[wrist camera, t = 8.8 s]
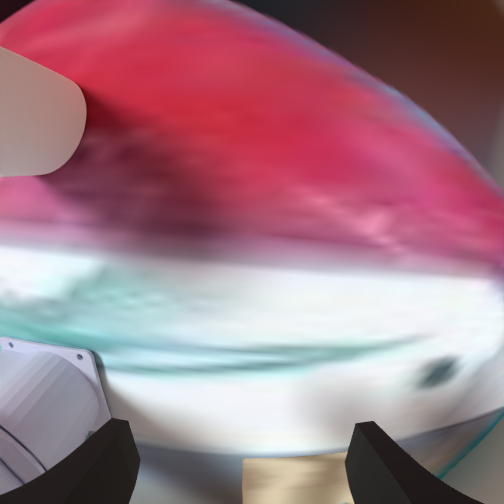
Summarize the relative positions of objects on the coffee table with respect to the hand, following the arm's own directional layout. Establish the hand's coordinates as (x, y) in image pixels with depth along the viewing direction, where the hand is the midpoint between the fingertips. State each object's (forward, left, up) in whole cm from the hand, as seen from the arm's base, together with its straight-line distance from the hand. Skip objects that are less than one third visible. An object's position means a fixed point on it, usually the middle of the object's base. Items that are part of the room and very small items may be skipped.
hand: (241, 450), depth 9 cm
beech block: (+6, -19, -11) cm, 22 cm away
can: (-12, +12, -11) cm, 20 cm away
